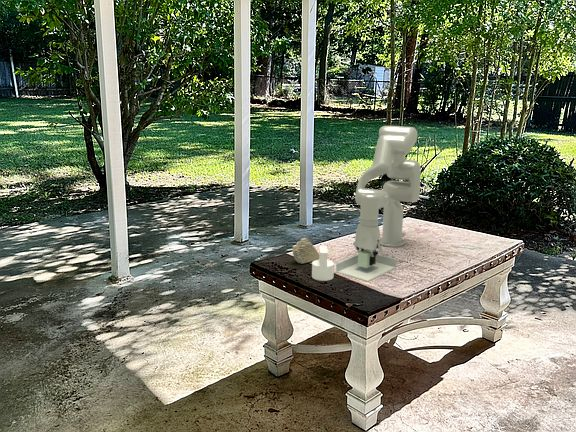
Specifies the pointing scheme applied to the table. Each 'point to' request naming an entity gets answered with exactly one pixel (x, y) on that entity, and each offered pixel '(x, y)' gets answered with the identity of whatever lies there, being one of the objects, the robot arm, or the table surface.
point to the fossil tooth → (305, 251)
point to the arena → (366, 274)
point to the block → (364, 258)
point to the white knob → (322, 266)
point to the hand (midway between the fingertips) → (366, 262)
